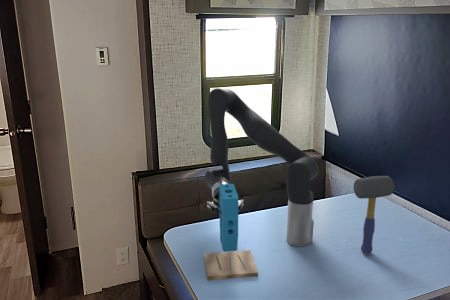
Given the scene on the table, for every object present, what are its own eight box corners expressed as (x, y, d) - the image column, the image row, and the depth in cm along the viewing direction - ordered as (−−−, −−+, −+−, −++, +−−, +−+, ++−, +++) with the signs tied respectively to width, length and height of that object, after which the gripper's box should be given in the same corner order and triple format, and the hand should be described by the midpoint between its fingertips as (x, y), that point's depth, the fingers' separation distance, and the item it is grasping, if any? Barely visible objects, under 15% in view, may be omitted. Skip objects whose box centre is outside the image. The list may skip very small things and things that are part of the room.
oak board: (250, 253, 159) (250, 250, 159) (258, 276, 146) (258, 272, 146) (204, 257, 157) (204, 253, 157) (207, 280, 144) (207, 276, 144)
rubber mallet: (375, 245, 164) (384, 171, 155) (387, 256, 157) (397, 179, 148) (345, 250, 162) (352, 174, 152) (356, 261, 155) (364, 182, 145)
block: (238, 253, 144) (238, 198, 137) (223, 254, 143) (223, 199, 137) (233, 235, 155) (233, 183, 149) (219, 236, 154) (219, 184, 148)
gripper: (203, 186, 159) (207, 207, 143) (241, 184, 161) (249, 205, 145) (204, 204, 162) (208, 227, 145) (241, 202, 163) (248, 225, 147)
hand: (228, 216), depth 145 cm, fingers closed on block, 2 cm apart
